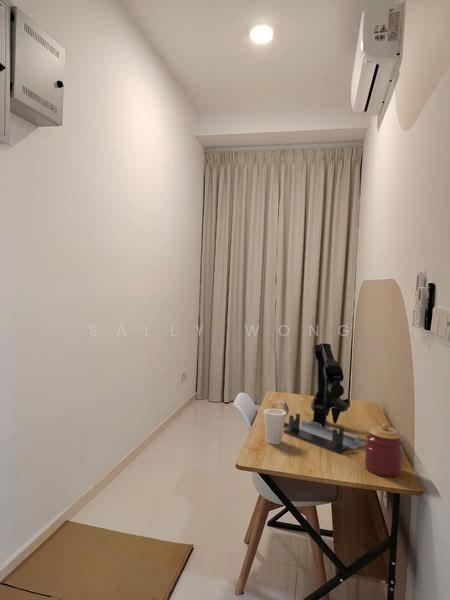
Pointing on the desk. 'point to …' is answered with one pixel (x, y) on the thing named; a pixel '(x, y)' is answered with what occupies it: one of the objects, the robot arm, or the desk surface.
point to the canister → (384, 451)
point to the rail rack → (333, 445)
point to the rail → (329, 431)
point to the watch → (283, 406)
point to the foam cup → (274, 425)
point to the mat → (331, 438)
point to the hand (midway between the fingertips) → (329, 425)
